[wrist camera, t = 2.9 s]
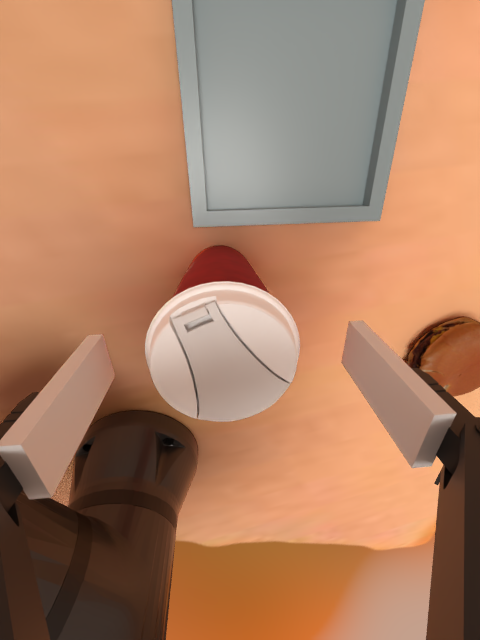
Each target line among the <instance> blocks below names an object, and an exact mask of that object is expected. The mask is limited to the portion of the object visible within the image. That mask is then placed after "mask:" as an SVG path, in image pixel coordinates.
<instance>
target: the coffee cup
mask: <svg viewBox="0 0 480 640" xmlns="http://www.w3.org/2000/svg"><path fill="white" fill-rule="evenodd" d="M299 351H300V339H299V333H298V329H297V326H296V324H295V322H294V320H293V317H292V316H291V314H290V313H289V311H288V310H287V309H286V307H285V306H284V305H283V304H282V303H281V302H280V301H279V300H277V299H276V298H275V297H273V296H272V295H270V294H269V292H268V291H267V289H266V288H265V286H264V285H263V283H262V282H261V280H260V279H259V277H258V276H257V274H256V273H255V271H254V270H253V268H252V267H251V265H250V264H249V263H248V261H247V260H246V259H245V257H244V256H243V255H242V254H241V253H239V252H238V251H236V250H235V249H233V248H230V247H227V246H213V247H209V248H207V249H205V250H203V251H202V252H200V253H199V254H198V255H197V256H196V257H195V259H194V260H193V261H192V263H191V265H190V266H189V268H188V270H187V272H186V273H185V275H184V277H183V279H182V281H181V282H180V284H179V286H178V288H177V290H176V292H175V294H174V295H173V297H172V299H170V300H169V301H168V302H166V303H165V305H164V306H163V307H162V308H161V309H160V310H159V311H158V312H157V314H156V315H155V317H154V319H153V320H152V322H151V324H150V327H149V329H148V332H147V336H146V341H145V356H146V361H147V365H148V367H149V370H150V373H151V378H152V380H153V383H154V385H155V387H156V389H157V390H158V392H159V393H160V395H161V396H162V397H163V399H164V400H165V401H166V402H167V403H168V404H169V405H171V406H172V407H173V408H174V409H176V410H178V411H179V412H181V413H183V414H185V415H187V416H189V417H192V418H195V419H200V420H207V421H218V422H228V421H236V420H241V419H244V418H247V417H250V416H253V415H255V414H258V413H260V412H262V411H264V410H265V409H267V408H269V407H270V406H271V405H273V404H274V403H275V402H276V401H277V400H278V399H279V398H280V397H281V396H282V395H283V393H284V392H285V391H286V389H287V388H288V387H289V386H290V383H292V381H293V379H294V375H295V372H296V368H297V361H298V357H299ZM197 413H198V417H197Z"/></svg>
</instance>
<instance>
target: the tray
mask: <svg viewBox="0 0 480 640" xmlns="http://www.w3.org/2000/svg"><path fill="white" fill-rule="evenodd" d="M424 1H425V0H172V7H173V18H174V28H175V38H176V49H177V59H178V70H179V80H180V91H181V101H182V112H183V122H184V133H185V143H186V154H187V164H188V175H189V185H190V196H191V206H192V216H193V227H215V226H244V225H273V224H301V223H330V222H359V221H380V219H381V214H382V209H383V204H384V199H385V194H386V189H387V184H388V179H389V174H390V169H391V164H392V159H393V154H394V150H395V145H396V140H397V135H398V130H399V125H400V120H401V115H402V110H403V105H404V100H405V95H406V90H407V85H408V80H409V75H410V70H411V66H412V61H413V56H414V51H415V46H416V41H417V36H418V31H419V26H420V21H421V16H422V11H423V6H424Z"/></svg>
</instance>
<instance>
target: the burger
mask: <svg viewBox="0 0 480 640" xmlns="http://www.w3.org/2000/svg"><path fill="white" fill-rule="evenodd" d="M407 365H408V366H409V367H410V368H419V369H420V370H422V371H424V372H426V373H427V374H429V375H430V376H431V377H432V378H433V379H435V380H436V381H437V382H438V383H439V385H441V386H442V387H443V388H444V389H445V390H446V392H449V393H450V394H451V395H452V396H458V395H462V394H465V393H468V392H471V391H473V390H475V389H477V388H479V387H480V323H479V322H477V321H475V320H473V319H471V318H468V317H461V318H457V319H454V320H450V321H447V322H445V323H443V324H441V325H439V326H438V327H435V328H433V329H431V330H430V331H429V332H428V333H426V334H425V335H424V336H423V337H422V338H420V339H419V340H418V342H417V343H416V344H415V346H414V348H413V349H412V350H411V351H410V353H409V358H408V363H407Z"/></svg>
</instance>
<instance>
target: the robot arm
mask: <svg viewBox="0 0 480 640" xmlns="http://www.w3.org/2000/svg"><path fill="white" fill-rule="evenodd" d="M341 363H342V364H343V366H344V367H345V369H346V370H347V372H348V373H349V375H350V376H351V378H352V379H353V381H354V382H355V384H356V385H357V387H358V388H359V390H360V391H361V393H362V394H363V396H364V397H365V399H366V400H367V402H368V403H369V405H370V406H371V408H372V409H373V411H374V412H375V414H376V415H377V417H378V418H379V420H380V421H381V423H382V424H383V426H384V427H385V429H386V430H387V432H388V433H389V435H390V436H391V438H392V439H393V441H394V442H395V444H396V445H397V447H398V448H399V450H400V451H401V453H402V454H403V456H404V457H405V459H406V460H407V462H408V463H409V465H410V466H411V467H412V468H417V467H429V466H432V464H433V462H434V460H435V458H436V456H437V457H438V458H439V459H440V460H441V462H442V463H443V464H444V465H443V467H442V469H441V471H440V473H439V475H438V477H437V479H436V481H435V483H434V484H436V485H438V484H439V482H440V486H439V497H438V509H437V520H436V532H435V544H434V555H433V566H432V578H431V589H430V601H429V612H428V624H427V636H426V640H480V417H474V416H473V415H472V414H471V413H470V412H469V411H468V410H467V409H466V408H465V407H464V406H462V405H461V404H460V403H459V402H458V401H457V400H456V399H455V398H454V397H453V396H452V395H451V394H450V393H449V392H446V390H445V389H444V388H443V387H442V386H441V385H439V383H438V382H437V381H436V380H435V379H433V378H432V377H431V376H430V375H429V374H427V373H426V372H424V371H422V370H420V369H419V368H410V367H409V366H408V365H407V364H406V363H405V362H404V361H403V360H402V359H401V358H400V357H399V356H398V355H397V354H396V353H395V352H394V351H393V350H392V349H391V348H390V347H389V346H388V345H387V344H386V343H385V342H384V341H383V340H382V339H381V338H380V337H379V336H378V335H377V334H376V333H375V332H374V331H373V330H372V329H371V328H370V327H369V326H368V325H367V324H366V323H365V322H364V321H349V324H348V330H347V335H346V340H345V346H344V351H343V356H342V362H341ZM114 378H115V374H114V370H113V367H112V363H111V360H110V357H109V353H108V350H107V346H106V343H105V340H104V336H103V334H99V335H87V337H86V338H85V339H84V340H83V341H82V343H81V344H80V345H79V346H78V347H77V349H76V350H75V351H74V352H73V353H72V355H71V356H70V357H69V358H68V359H67V361H66V362H65V363H64V364H63V365H62V367H61V368H60V369H59V370H58V371H57V373H56V374H55V375H54V376H53V377H52V379H51V380H50V381H49V382H48V383H47V385H46V386H45V387H44V388H43V389H42V391H41V392H35V393H32V394H31V395H29V396H28V397H26V398H25V399H23V400H22V401H21V402H20V403H19V404H18V405H17V406H16V407H15V408H14V409H13V411H12V412H11V414H9V415H8V416H7V417H6V418H5V420H4V422H3V423H1V424H0V640H166V630H167V620H168V609H169V599H170V588H171V578H172V568H173V558H174V547H175V537H176V527H177V519H178V514H179V511H180V509H181V507H182V504H183V502H184V499H185V497H186V494H187V492H188V490H189V487H190V485H191V482H192V480H193V477H194V475H195V472H196V468H197V456H198V447H197V443H196V440H195V438H194V436H193V435H192V433H191V432H190V431H189V430H188V429H187V428H186V427H185V426H184V425H182V424H181V423H179V422H178V421H176V420H174V419H172V418H170V417H167V416H165V415H162V414H158V413H154V412H148V411H125V412H119V413H115V414H112V415H109V416H106V417H104V418H102V419H100V420H98V421H97V422H95V423H94V424H93V425H92V426H91V427H90V428H89V429H88V427H89V425H90V424H91V422H92V420H93V418H94V416H95V414H96V412H97V410H98V408H99V406H100V404H101V403H102V401H103V399H104V397H105V395H106V393H107V391H108V389H109V387H110V385H111V383H112V381H113V380H114ZM87 429H88V430H87ZM76 450H77V451H76ZM75 452H76V454H75ZM74 454H75V458H74V466H73V474H72V482H71V490H70V498H69V504H68V507H67V506H65V505H63V504H61V503H59V502H57V501H55V500H53V499H51V498H52V496H53V494H54V493H55V491H56V489H57V487H58V485H59V483H60V481H61V479H62V477H63V475H64V473H65V471H66V470H67V468H68V466H69V464H70V462H71V460H72V458H73V456H74Z"/></svg>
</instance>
